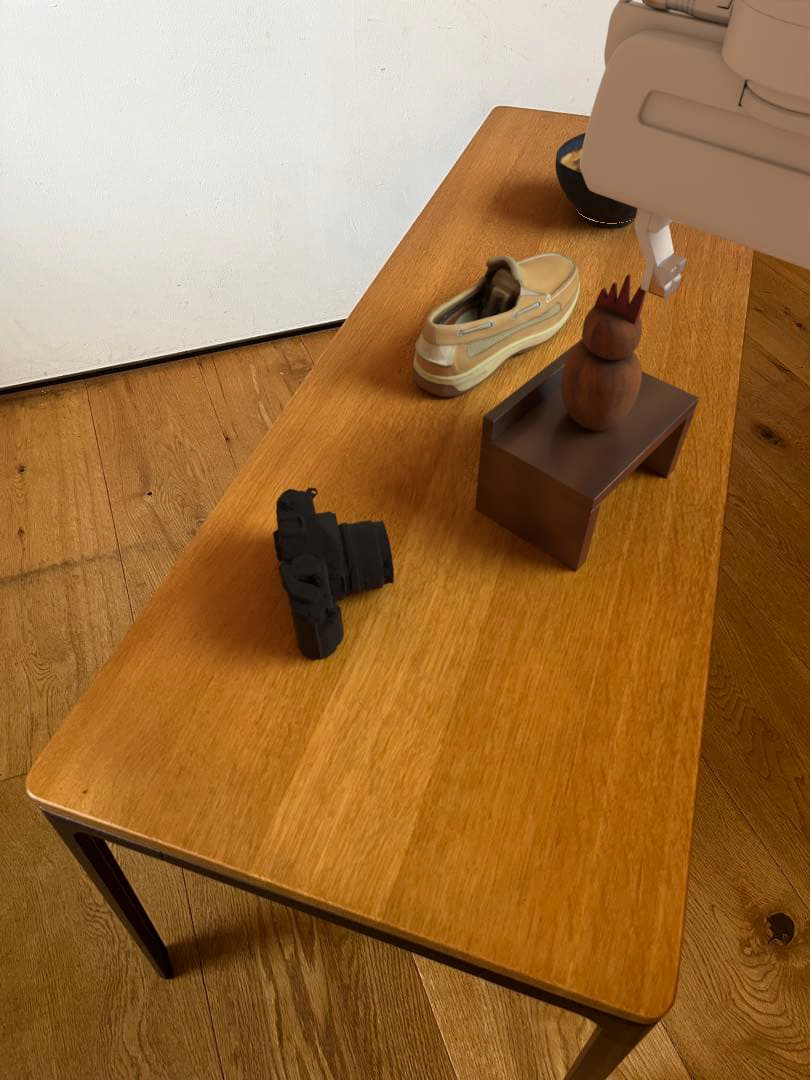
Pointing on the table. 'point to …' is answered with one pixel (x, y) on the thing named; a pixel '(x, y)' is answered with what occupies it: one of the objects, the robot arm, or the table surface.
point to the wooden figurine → (605, 361)
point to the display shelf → (570, 459)
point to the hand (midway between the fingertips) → (738, 322)
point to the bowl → (582, 196)
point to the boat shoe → (495, 321)
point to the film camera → (325, 567)
